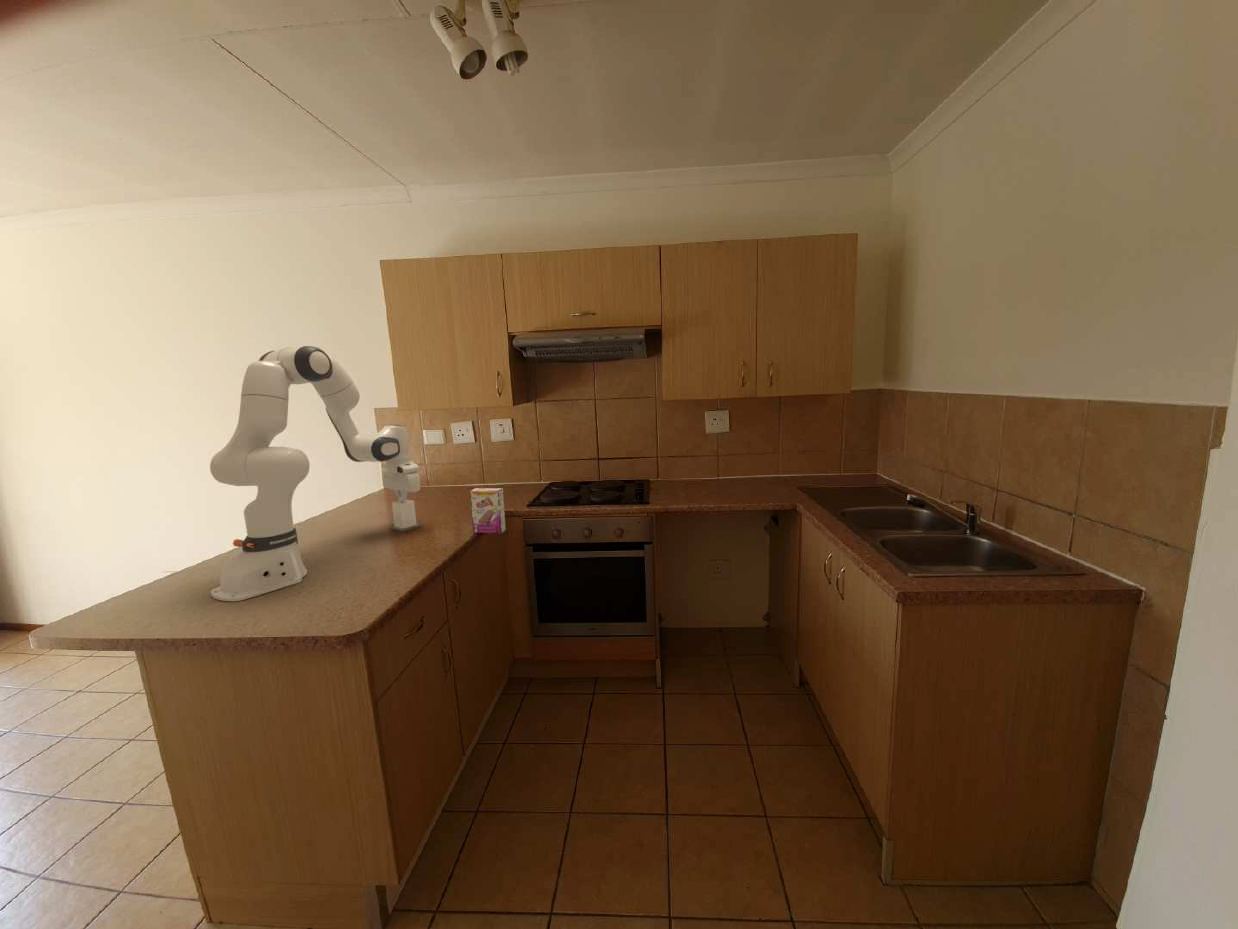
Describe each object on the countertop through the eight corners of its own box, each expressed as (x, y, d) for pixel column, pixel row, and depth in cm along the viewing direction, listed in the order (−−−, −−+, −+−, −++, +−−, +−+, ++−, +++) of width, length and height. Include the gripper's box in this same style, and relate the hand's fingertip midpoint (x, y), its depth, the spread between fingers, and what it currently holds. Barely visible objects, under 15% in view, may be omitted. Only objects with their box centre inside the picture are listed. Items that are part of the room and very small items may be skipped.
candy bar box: (472, 534, 179) (469, 491, 177) (477, 530, 184) (474, 488, 182) (502, 534, 178) (498, 490, 176) (506, 530, 183) (503, 487, 180)
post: (402, 531, 185) (399, 512, 184) (390, 528, 189) (388, 509, 188) (420, 526, 191) (418, 507, 190) (409, 523, 196) (407, 504, 195)
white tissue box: (402, 528, 186) (400, 504, 185) (394, 526, 190) (391, 502, 188) (416, 524, 191) (414, 501, 189) (407, 522, 194) (405, 499, 193)
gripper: (376, 465, 190) (380, 500, 192) (406, 469, 178) (410, 506, 180) (391, 463, 195) (395, 496, 197) (421, 466, 183) (425, 502, 186)
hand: (402, 501), depth 189 cm, fingers closed
